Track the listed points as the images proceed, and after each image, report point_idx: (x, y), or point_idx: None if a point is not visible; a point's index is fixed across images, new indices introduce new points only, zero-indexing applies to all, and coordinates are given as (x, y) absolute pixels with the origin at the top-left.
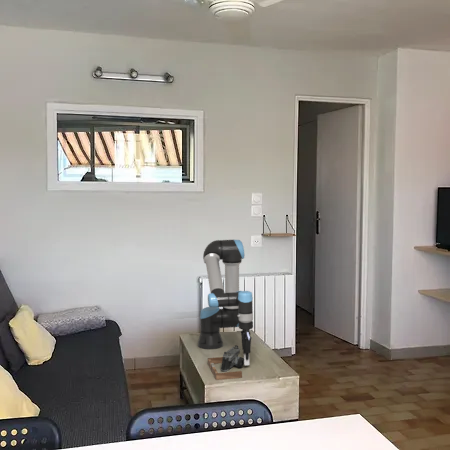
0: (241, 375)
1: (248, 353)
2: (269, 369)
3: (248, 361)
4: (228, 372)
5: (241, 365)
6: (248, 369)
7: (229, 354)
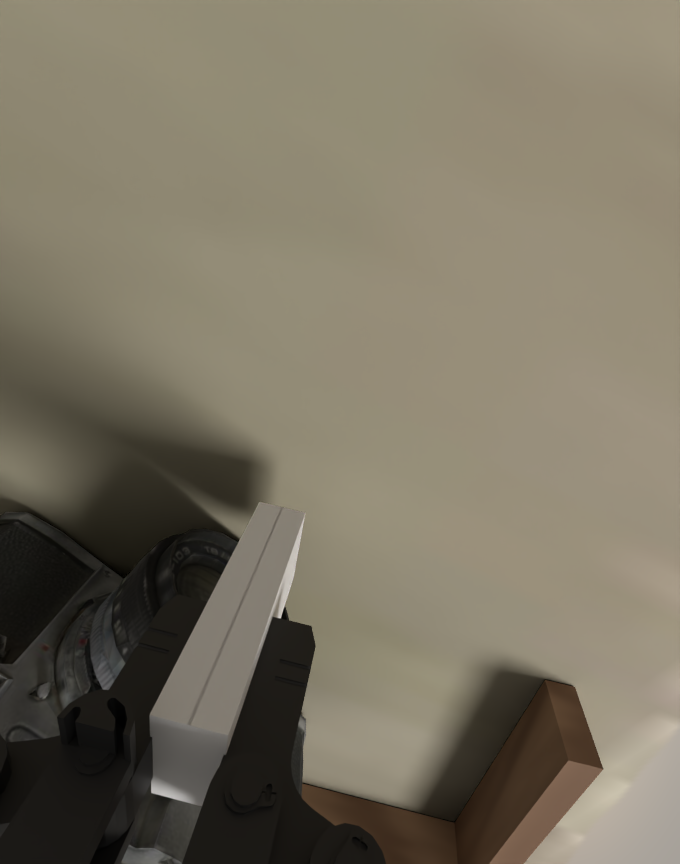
0: (581, 719)
1: (295, 787)
2: (535, 170)
3: (289, 571)
4: (509, 851)
5: (216, 560)
6: (338, 501)
7: None
